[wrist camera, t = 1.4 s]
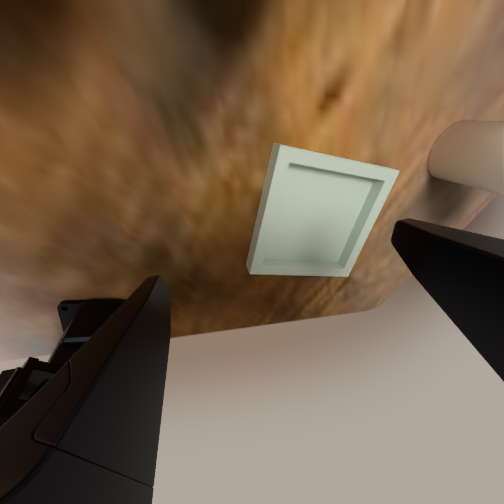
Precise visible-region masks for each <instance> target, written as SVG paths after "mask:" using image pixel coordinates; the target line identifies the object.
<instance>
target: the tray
mask: <svg viewBox="0 0 504 504" xmlns="http://www.w3.org/2000/svg"><path fill="white" fill-rule="evenodd" d="M398 174H399V170H395V169H392V168H388V167H384V166H379V165H375V164H370V163H366V162H361V161H356V160H352V159H347V158H343V157H338V156H333V155H329V154H324V153H320V152H315V151H310V150H306V149H301V148H297V147H292V146H288V145H283V144H278V143H274V142H273V146H272V150H271V155H270V159H269V164H268V168H267V173H266V177H265V181H264V186H263V190H262V195H261V199H260V204H259V208H258V213H257V217H256V222H255V226H254V231H253V235H252V239H251V244H250V248H249V253H248V257H247V262H246V266H247V269H248V271H249V274H262V275H300V276H338V277H348V276H349V274H350V272H351V270H352V268H353V266H354V264H355V262H356V259H357V257H358V255H359V253H360V251H361V249H362V247H363V245H364V243H365V241H366V239H367V237H368V235H369V233H370V231H371V229H372V227H373V225H374V223H375V221H376V219H377V217H378V214H379V212H380V210H381V208H382V206H383V204H384V202H385V200H386V198H387V196H388V194H389V192H390V190H391V188H392V186H393V184H394V182H395V180H396V178H397V176H398Z"/></svg>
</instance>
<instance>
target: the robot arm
mask: <svg viewBox="0 0 504 504" xmlns="http://www.w3.org/2000/svg"><path fill="white" fill-rule="evenodd" d="M391 242H392V245H393V246H394V248H395V249H396V251H397V252H398V254H399V255H400V257H401V258H402V260H403V261H404V262H405V264H406V265H407V267H408V268H409V270H410V271H411V273H412V274H413V275H414V276H415V278H416V279H417V280H418V281H419V283H420V284H421V285H422V286H423V287H424V289H425V290H426V291H427V292H428V293H429V294H430V296H431V297H432V298H433V299H434V300H435V301H436V303H437V304H438V305H439V306H440V307H441V308H442V310H443V311H444V312H445V313H446V314H447V316H448V317H449V318H450V319H451V320H452V321H453V323H454V324H455V325H456V326H457V327H458V328H459V329H460V330H461V332H462V333H463V334H464V335H465V337H466V338H467V339H468V340H469V341H470V343H472V345H473V346H474V347H475V348H476V349H477V351H478V352H479V353H480V354H481V355H482V357H483V358H484V359H485V360H486V361H487V362H488V364H489V365H490V366H491V367H492V368H493V369H494V371H495V372H496V373H497V374H498V375H499V376H500V378H501V379H502V380H503V381H504V240H503V239H498V238H494V237H490V236H485V235H481V234H477V233H472V232H468V231H463V230H459V229H454V228H450V227H445V226H441V225H437V224H432V223H428V222H423V221H419V220H414V219H410V218H407V219H402V220H398V221H397V222H396V223H395V225H394V229H393V233H392V237H391ZM64 306H66V307H64ZM57 309H58V313H59V317H60V320H61V324H62V328H63V332H64V333H63V335H62V337H61V339H60V341H59V342H58V344H57V346H56V348H55V350H54V351H53V353H52V355H51V357H50V359H49V361H48V362H43V361H39V359H37V358H33V357H29V358H28V360H27V361H26V362H25V363H24V365H23V366H22V367H17V368H16V369H11V370H5V371H2V373H1V374H0V504H152V497H153V488H152V487H153V485H154V478H155V469H156V459H157V451H158V442H159V433H160V424H161V415H162V406H163V397H164V388H165V380H166V370H167V362H168V353H169V344H170V333H171V313H170V292H169V289H168V287H167V286H166V284H165V282H164V280H163V278H162V277H161V276H160V275H155V276H151V277H148V278H147V279H146V280H145V281H144V282H143V283H142V284H141V285H140V286H139V287H138V288H137V289H136V290H135V291H134V292H133V294H132V295H131V296H130V297H129V298H128V299H127V300H97V301H62V302H61V303H60V304H59V305H58V307H57Z"/></svg>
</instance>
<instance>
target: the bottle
mask: <svg viewBox="0 0 504 504" xmlns="http://www.w3.org/2000/svg"><path fill="white" fill-rule="evenodd" d="M428 169H429V172H430V174H431V175H432V176H433V177H435V178H439V179H442V180H446V181H450V182H454V183H458V184H462V185H465V186H469V187H473V188H477V189H481V190H485V191H488V192H492V193H496V194H500V195H504V121H478V120H462V121H459V122H456V123H454V124H452V125H451V126H450V127H448V128H447V129H446V130H445V131H444V132H443V133H442V134H441V135H440V136H439V138H438V139H437V140H436V142H435V144H434V145H433V147H432V149H431V152H430V155H429V159H428Z"/></svg>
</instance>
